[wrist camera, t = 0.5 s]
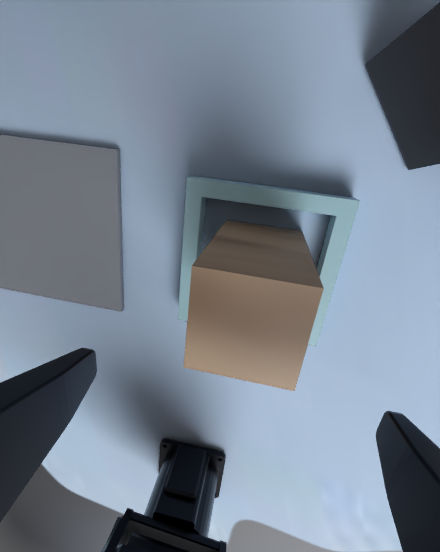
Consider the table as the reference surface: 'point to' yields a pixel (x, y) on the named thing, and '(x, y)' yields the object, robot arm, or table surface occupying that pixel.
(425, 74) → the phone stand
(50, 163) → the pad
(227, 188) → the pocket frame
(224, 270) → the oak block
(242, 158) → the table surface
